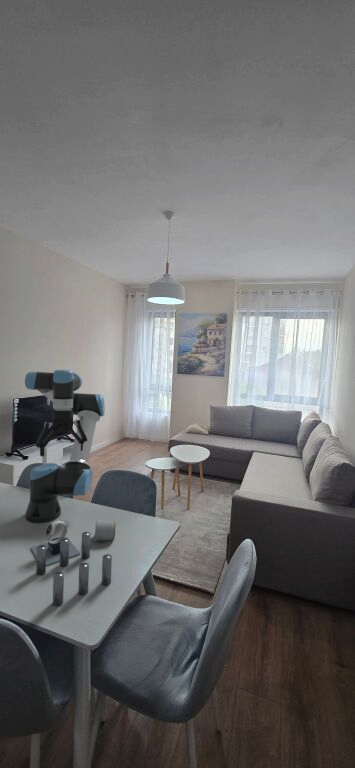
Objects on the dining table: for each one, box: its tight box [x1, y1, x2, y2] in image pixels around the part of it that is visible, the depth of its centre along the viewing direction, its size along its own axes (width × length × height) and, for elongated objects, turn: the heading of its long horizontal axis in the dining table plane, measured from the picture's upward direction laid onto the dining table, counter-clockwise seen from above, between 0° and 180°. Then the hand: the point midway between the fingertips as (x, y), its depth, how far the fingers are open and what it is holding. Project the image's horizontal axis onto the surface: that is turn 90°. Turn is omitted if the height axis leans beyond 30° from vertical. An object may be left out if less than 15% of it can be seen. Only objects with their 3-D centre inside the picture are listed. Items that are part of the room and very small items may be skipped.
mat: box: [30, 536, 81, 567], centre depth 127 cm, size 14×14×1 cm
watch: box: [44, 520, 68, 555], centre depth 127 cm, size 6×8×11 cm
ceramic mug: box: [94, 519, 117, 542], centre depth 139 cm, size 11×8×8 cm
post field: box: [35, 531, 113, 607], centre depth 113 cm, size 20×19×9 cm
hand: (61, 461), depth 135 cm, fingers open, 13 cm apart
